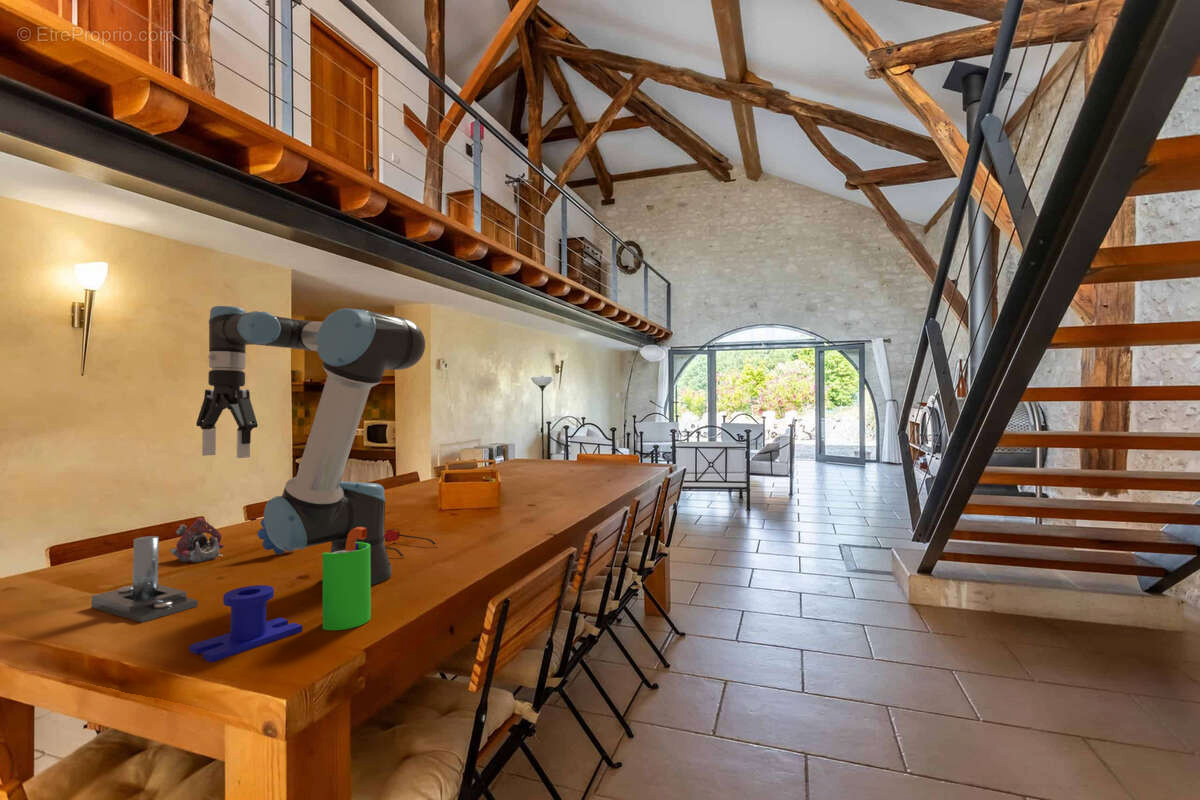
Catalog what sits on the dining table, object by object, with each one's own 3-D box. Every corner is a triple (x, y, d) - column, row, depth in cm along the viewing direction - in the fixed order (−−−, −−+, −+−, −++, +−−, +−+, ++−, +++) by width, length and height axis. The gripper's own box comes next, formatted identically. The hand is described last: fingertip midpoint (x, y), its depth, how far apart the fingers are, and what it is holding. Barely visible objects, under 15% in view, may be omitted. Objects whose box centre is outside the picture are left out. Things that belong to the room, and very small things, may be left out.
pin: (161, 605, 116) (163, 537, 116) (138, 611, 112) (140, 541, 112) (150, 602, 117) (152, 535, 117) (127, 608, 114) (129, 539, 114)
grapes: (263, 561, 149) (264, 516, 149) (253, 556, 153) (254, 512, 153) (308, 552, 158) (309, 510, 158) (298, 548, 162) (299, 507, 162)
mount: (210, 663, 90) (211, 609, 90) (189, 652, 94) (190, 600, 94) (302, 632, 103) (302, 584, 103) (279, 623, 107) (280, 577, 107)
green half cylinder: (335, 612, 112) (336, 522, 113) (376, 611, 113) (378, 522, 113) (316, 631, 103) (317, 532, 103) (361, 629, 104) (362, 532, 104)
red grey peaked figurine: (193, 558, 143) (176, 518, 146) (171, 579, 146) (155, 540, 149) (237, 547, 153) (220, 510, 156) (215, 568, 157) (199, 531, 160)
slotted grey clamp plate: (197, 606, 115) (197, 591, 115) (140, 622, 106) (141, 606, 106) (148, 593, 123) (148, 579, 123) (91, 607, 114) (91, 592, 114)
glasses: (397, 542, 172) (397, 526, 172) (439, 548, 165) (439, 531, 165) (360, 553, 159) (360, 535, 160) (404, 560, 152) (404, 542, 153)
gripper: (180, 370, 140) (179, 455, 140) (244, 367, 129) (242, 460, 129) (212, 372, 147) (210, 453, 147) (275, 370, 136) (273, 457, 136)
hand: (225, 456), depth 138 cm, fingers open, 13 cm apart
